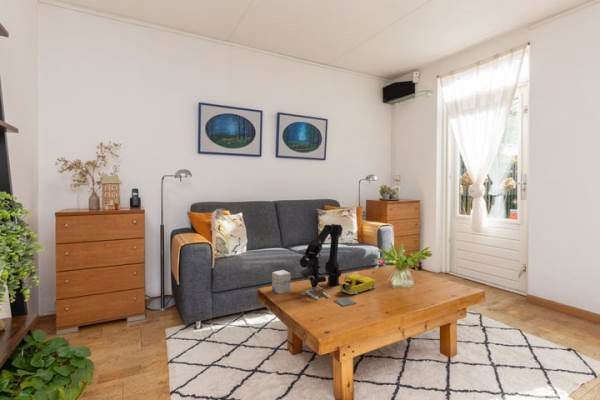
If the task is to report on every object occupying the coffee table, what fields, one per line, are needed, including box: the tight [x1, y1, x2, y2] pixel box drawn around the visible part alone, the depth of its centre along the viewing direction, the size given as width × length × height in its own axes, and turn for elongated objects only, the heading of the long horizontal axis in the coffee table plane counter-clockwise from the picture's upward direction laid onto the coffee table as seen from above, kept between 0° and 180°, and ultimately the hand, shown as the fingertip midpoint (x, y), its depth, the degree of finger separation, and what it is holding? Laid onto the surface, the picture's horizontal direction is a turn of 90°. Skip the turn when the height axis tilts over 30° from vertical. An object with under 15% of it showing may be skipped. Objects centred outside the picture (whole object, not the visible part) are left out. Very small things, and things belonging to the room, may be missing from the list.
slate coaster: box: [333, 297, 357, 307], centre depth 178 cm, size 9×9×1 cm
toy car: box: [339, 273, 376, 295], centre depth 198 cm, size 12×25×10 cm, turn 129°
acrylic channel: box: [305, 289, 330, 301], centre depth 189 cm, size 8×14×1 cm, turn 28°
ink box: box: [271, 269, 292, 295], centre depth 196 cm, size 9×8×12 cm
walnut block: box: [311, 285, 325, 298], centre depth 189 cm, size 4×6×4 cm
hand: (313, 289), depth 193 cm, fingers closed
